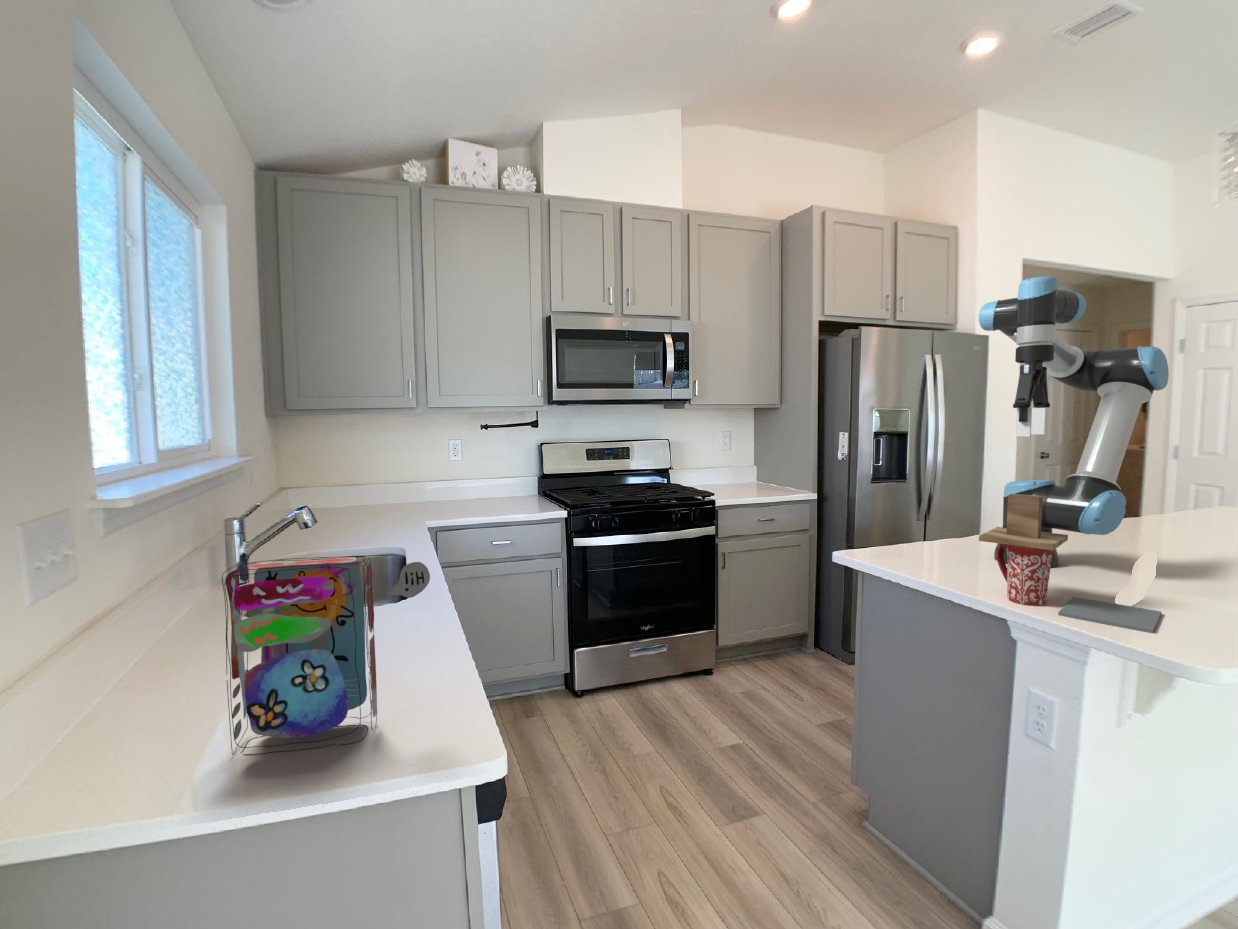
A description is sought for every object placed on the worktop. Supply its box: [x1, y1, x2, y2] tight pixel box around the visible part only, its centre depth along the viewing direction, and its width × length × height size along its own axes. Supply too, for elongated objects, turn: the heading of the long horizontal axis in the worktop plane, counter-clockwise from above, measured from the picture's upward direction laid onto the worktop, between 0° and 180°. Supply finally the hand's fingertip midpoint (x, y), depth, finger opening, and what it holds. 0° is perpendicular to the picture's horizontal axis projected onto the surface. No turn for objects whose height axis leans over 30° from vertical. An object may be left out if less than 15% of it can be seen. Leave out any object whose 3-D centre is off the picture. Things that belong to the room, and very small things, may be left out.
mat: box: [1057, 596, 1163, 634], centre depth 127 cm, size 15×15×1 cm
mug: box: [996, 544, 1053, 607], centre depth 138 cm, size 13×9×14 cm
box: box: [221, 555, 431, 756], centre depth 83 cm, size 25×6×24 cm, turn 102°
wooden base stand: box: [978, 494, 1069, 550], centre depth 137 cm, size 14×14×10 cm
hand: (1030, 435), depth 145 cm, fingers open, 13 cm apart
